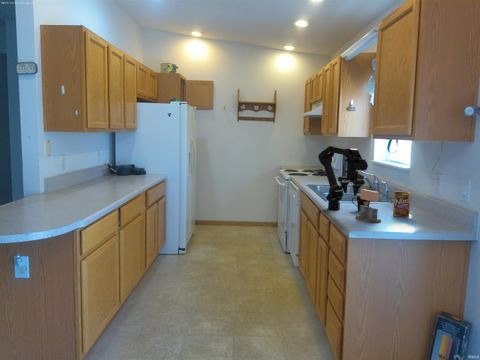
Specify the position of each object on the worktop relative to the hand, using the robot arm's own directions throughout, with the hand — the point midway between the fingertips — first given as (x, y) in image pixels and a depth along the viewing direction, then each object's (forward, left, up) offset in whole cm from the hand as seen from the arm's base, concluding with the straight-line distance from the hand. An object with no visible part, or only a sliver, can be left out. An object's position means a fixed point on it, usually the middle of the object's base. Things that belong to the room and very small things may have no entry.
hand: (350, 194), depth 237 cm
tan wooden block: (+15, -10, 0) cm, 18 cm away
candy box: (+27, +14, -12) cm, 33 cm away
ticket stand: (+15, -10, -12) cm, 22 cm away
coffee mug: (+2, +14, -12) cm, 19 cm away
